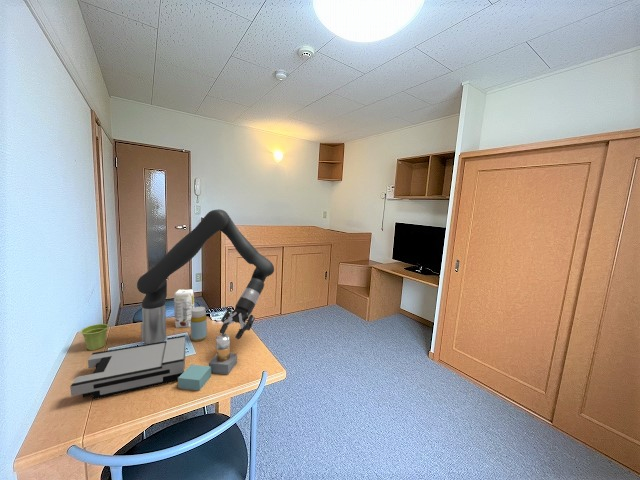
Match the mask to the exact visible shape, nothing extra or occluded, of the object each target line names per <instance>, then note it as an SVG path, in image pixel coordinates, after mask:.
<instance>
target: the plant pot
mask: <svg viewBox="0 0 640 480" xmlns="http://www.w3.org/2000/svg"><path fill="white" fill-rule="evenodd" d="M108 329H109V325H108V324H105V323H96V324H92V325H89V326H85V327H84V328H82V329H81V330H80V333H81V334H82V336H83V338H84V339H83V340H84V342H85V346H86V349H87V350H89V351H94V350H99V349H101V348H103V347H105V345H106V340H107V339H106V338H107V337H106V336H107V331H108Z"/></svg>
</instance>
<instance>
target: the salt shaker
mask: <svg viewBox="0 0 640 480" xmlns="http://www.w3.org/2000/svg"><path fill="white" fill-rule="evenodd" d="M230 337H231V336H230V335H229V334H227V333H224V334H219V335H217V336H216V340H215V342H216V354H217V361H219V362H224V361H227V360H228V359H229V358H230V353H231V352H230V351H231V348H230V347H231V343H230V339H231V338H230Z"/></svg>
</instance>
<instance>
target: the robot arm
mask: <svg viewBox="0 0 640 480" xmlns="http://www.w3.org/2000/svg"><path fill="white" fill-rule="evenodd" d="M219 231H220V232H221V233H223V234H224V236H226V237H227V238H228V240H229V241H230V242H231V244H232V246H233V247H234V248H235V251H237V253H238V254H239V256H241V258H243V259H244V261H245V262H246V263H247V264H249V265H253V266H254V267H255V268H254V271H253V272H252V276H251V278H250V280H249V282H248V284H247V285H246V287H245V289H244V290H243V292H242V293H241V295H240V296H239V299H238V300H237V302H236V304H235V308H234V309H233V310H232V309H231V308H228V309H227V310H226V312H225V313H224V314H223V316H222V318H221V320H220V321H221V322H222V323H223V324H222V325H221V328H220V329H219V333H220V335H222V334H226V331H227V329H228V327H229V326H230V325H231V324H233V323H238V324H239V325H240V328H239V329H238V331H237V334H236V335H235V338H236V340H240V339H242V338H243V337H242V336H243V335H244V332H246V331H250V330H251V328H252V326H253V324H254V322H255V319H256V317H255V315H253V314H252V313H253V311H254V309H255V307H256V305H257V303H258V301H259V298H260V296H261V294H262V292H263V289H264V288H265V281H266V279H267V278H268V277H270V276H271V275H273V274H274V273H275V266H274V264H273V263H272V261H270V260H269V259H268V258H267V257H266V256H265V255H262V253H260V252H259V251H258V250H257V249H256V248H255V247H254V245H252V244H251V242H250V241H249V240H248V239H247V238H246V237H245V236H244V235H243V234H242V232H241V231H240V230H239V229H238V227H237V226H236V225H235V223H234V222H233V220H232V218H231V217H230V215H229V214H228V212H227V211H225V210H223V209H212V210H210V211H208V212H207V214H205V216H203V218H202V219H201V221H200V222H199V223H198V224H197V225H196V226H195V228H194V229H192V230H190V232H189V233H187V234H186V235H185V236H184V237H182V238H181V239H180V240H179V241H178V242H177V243H176V244H174V246H172V248H171V249H169V251H167V253H166V254H165V255H164V256H163V257H162V258H161V259H160V260H159V261H158V262H157V264H155V265H154V266H153V267H152V268H151V269H149V270H148V271H146V272H145V273H144V274H143V275H141V276H140V277H139V278H138V280H137V282H136V288H137V290H138V291H139V293H141V294H144V298H143V299H142V302H141V311H142V313H141V314H142V315H141V316H142V321H141V323H140V331H141V332H140V333H141V342H142V343H143V344H144V345H145V344H151V343H157V342H163V341H167V338H168V335H167V316H166V315H167V313H166V311H167V310H166V299H167V295H168V294H167V292H168V281H167V278H169V276H171V275H173V273H175V272H177V271H178V270H179V269H181V268H182V267H184V266H185V265H186V264H188V262H190V261H191V260H192V259H193V258H195V257H196V255H197V254H198V253H199V252H200V251H201V249H202V248H203V246H204V245H205V243H206V242H207V241H208V240H209V239H210V238H211V237H213V236H214V235H215V234H217V233H218V232H219Z"/></svg>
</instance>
